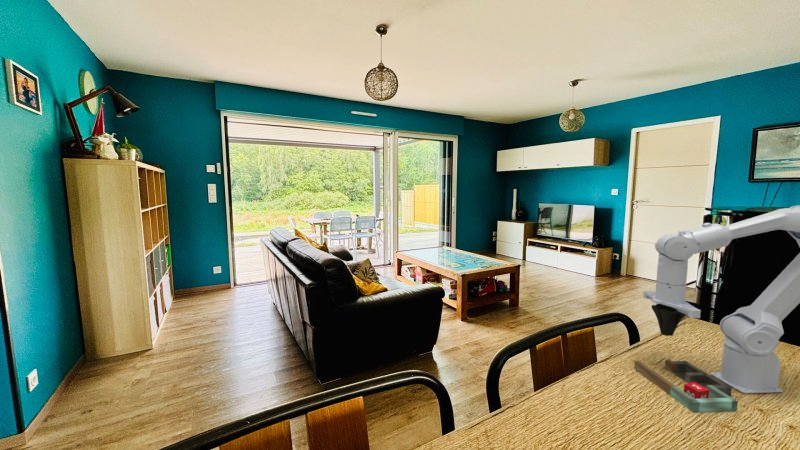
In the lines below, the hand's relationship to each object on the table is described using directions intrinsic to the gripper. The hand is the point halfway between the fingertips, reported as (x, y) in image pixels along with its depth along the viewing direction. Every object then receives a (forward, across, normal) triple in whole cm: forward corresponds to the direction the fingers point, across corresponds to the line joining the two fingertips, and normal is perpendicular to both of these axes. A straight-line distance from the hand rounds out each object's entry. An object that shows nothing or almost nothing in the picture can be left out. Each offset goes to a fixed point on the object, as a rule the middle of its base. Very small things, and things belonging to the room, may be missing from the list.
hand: (666, 334), depth 82 cm
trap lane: (+10, +7, 0) cm, 12 cm away
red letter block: (+10, +11, -2) cm, 15 cm away
